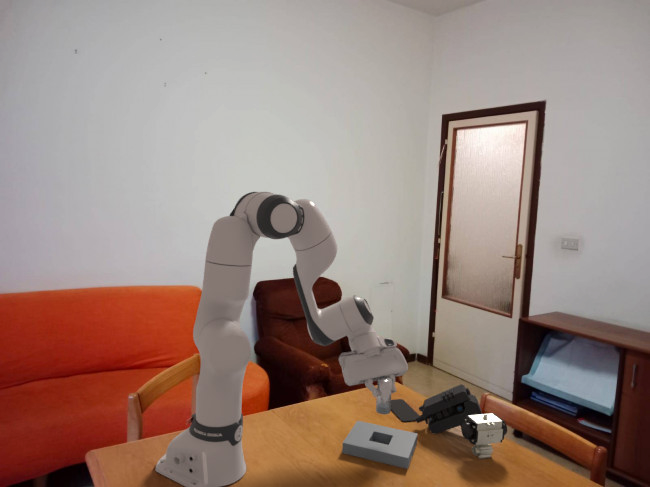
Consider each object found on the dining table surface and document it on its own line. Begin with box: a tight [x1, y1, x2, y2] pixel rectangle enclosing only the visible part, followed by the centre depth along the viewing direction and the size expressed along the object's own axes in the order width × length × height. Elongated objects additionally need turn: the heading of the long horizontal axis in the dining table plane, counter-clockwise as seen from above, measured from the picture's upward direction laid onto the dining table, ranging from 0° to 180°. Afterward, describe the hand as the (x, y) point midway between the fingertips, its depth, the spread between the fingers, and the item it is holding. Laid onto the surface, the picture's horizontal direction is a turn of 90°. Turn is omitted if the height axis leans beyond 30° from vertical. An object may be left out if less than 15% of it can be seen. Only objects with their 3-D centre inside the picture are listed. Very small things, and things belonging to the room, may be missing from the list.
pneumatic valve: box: [460, 412, 508, 460], centre depth 131 cm, size 6×12×12 cm, turn 105°
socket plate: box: [341, 420, 418, 470], centre depth 134 cm, size 18×14×3 cm
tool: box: [415, 383, 483, 435], centre depth 144 cm, size 6×19×15 cm, turn 78°
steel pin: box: [375, 377, 392, 415], centre depth 132 cm, size 4×4×9 cm
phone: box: [390, 398, 420, 423], centre depth 158 cm, size 7×1×15 cm
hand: (385, 394), depth 132 cm, fingers closed on steel pin, 4 cm apart
